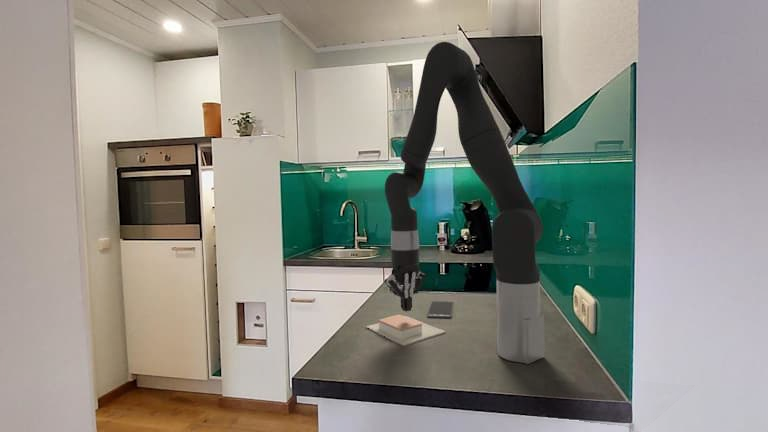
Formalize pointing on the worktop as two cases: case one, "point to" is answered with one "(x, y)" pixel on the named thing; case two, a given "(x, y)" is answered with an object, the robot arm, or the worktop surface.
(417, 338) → the mat
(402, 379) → the worktop surface
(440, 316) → the smartphone
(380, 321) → the block
